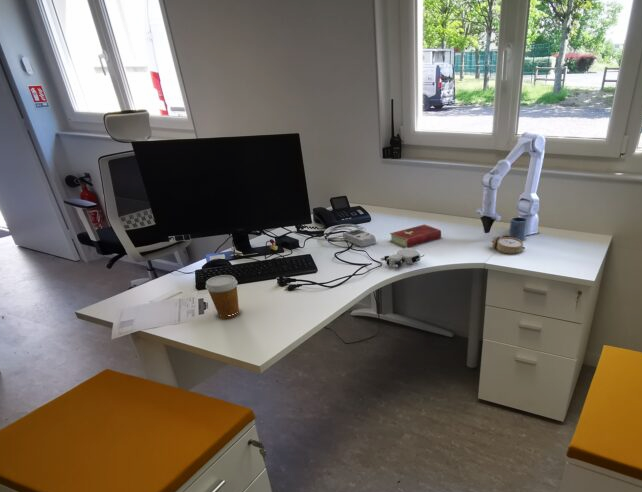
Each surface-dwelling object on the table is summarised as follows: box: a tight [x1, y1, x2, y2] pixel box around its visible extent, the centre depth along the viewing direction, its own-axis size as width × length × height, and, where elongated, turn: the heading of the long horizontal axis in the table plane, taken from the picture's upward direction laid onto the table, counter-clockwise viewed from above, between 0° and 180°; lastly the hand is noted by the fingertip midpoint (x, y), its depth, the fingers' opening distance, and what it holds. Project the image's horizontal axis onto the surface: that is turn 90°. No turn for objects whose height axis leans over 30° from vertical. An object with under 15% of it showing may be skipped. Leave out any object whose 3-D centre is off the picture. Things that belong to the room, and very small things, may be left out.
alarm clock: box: [491, 234, 526, 255], centre depth 200 cm, size 11×5×15 cm
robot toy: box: [380, 247, 425, 268], centre depth 185 cm, size 12×4×15 cm
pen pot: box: [508, 216, 527, 242], centre depth 210 cm, size 7×7×9 cm
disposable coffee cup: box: [205, 274, 240, 320], centre depth 145 cm, size 10×10×12 cm
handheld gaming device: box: [342, 228, 377, 248], centre depth 208 cm, size 9×15×4 cm, turn 41°
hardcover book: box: [389, 223, 442, 248], centre depth 210 cm, size 12×21×4 cm, turn 130°
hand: (486, 232), depth 209 cm, fingers closed
